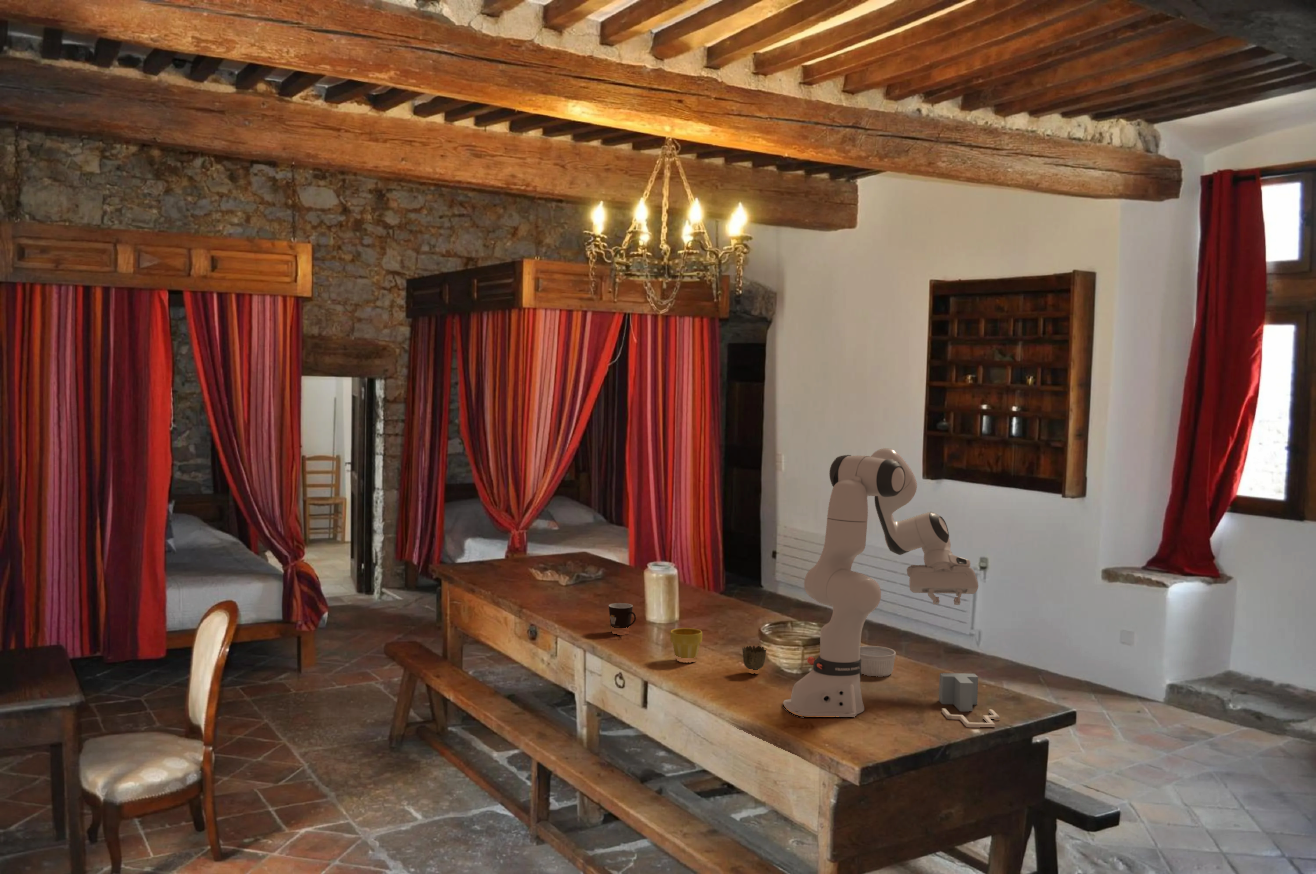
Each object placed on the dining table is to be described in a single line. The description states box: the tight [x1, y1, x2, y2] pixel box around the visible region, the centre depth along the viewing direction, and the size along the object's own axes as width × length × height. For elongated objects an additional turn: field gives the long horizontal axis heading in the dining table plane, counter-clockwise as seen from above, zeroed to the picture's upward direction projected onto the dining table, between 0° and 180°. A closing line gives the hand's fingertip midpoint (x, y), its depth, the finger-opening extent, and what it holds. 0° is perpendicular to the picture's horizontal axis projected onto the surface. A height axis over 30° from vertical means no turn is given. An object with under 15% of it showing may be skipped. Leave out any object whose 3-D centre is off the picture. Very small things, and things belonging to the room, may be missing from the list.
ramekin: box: [860, 645, 897, 678], centre depth 338 cm, size 13×13×7 cm
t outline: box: [941, 708, 1001, 728], centre depth 292 cm, size 14×13×1 cm
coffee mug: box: [608, 602, 637, 628], centre depth 382 cm, size 12×9×10 cm
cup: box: [742, 645, 767, 670], centre depth 334 cm, size 8×7×8 cm
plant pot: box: [669, 627, 703, 658], centre depth 347 cm, size 10×10×10 cm
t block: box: [938, 672, 979, 712], centre depth 304 cm, size 10×10×8 cm
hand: (947, 603), depth 321 cm, fingers open, 5 cm apart
